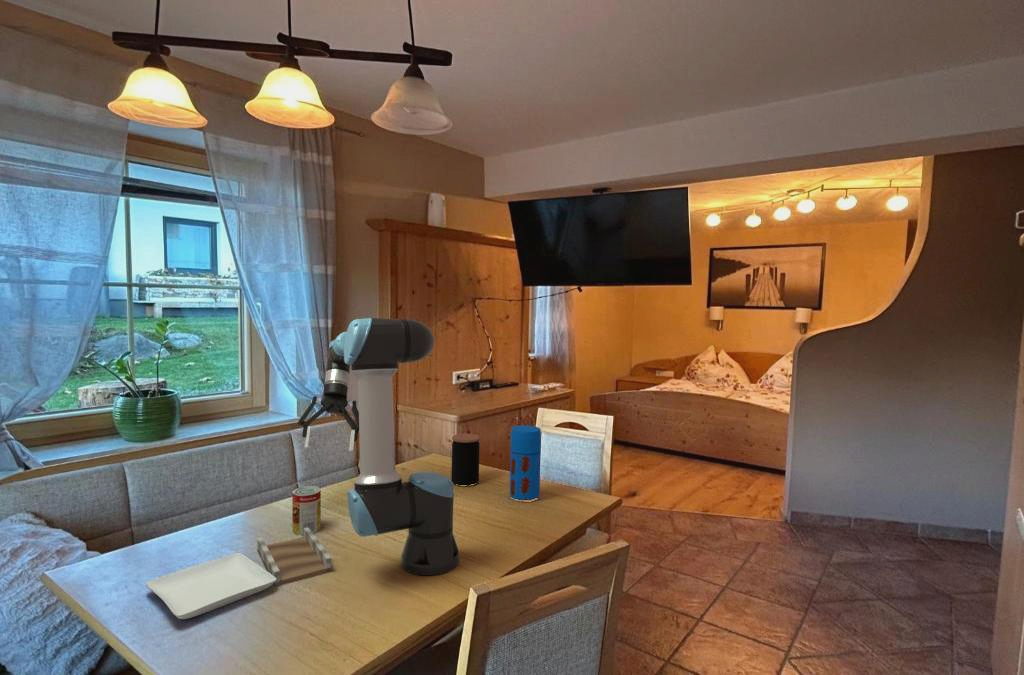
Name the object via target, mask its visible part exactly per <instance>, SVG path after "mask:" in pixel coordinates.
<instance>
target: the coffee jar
mask: <svg viewBox="0 0 1024 675" xmlns="http://www.w3.org/2000/svg"><path fill="white" fill-rule="evenodd" d="M480 438H481V437H480V436H479V435H478V434H473V433H458V434H457V433H456V434H454V435H452V437H451V440H452V443H451V476H450V477H451V478H450V479H451V480H452V482H453V483H454V484H458V485H471V484H475V483H477V484H478V483H479V481H480V442H479V441H480ZM454 484H453V485H454Z"/></svg>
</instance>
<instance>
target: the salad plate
mask: <svg viewBox="0 0 1024 675" xmlns="http://www.w3.org/2000/svg"><path fill="white" fill-rule="evenodd" d="M275 581H276V578H275V577H274V576H273V575H272V574H270V573H269V572H267V570H266V569H265V568H264V567H262V566H260V565H259V564H257V563H256V562H255V561H253V560H251V559H250V558H248V557H247V556H246V555H244V554H243V553H241V552H236V553H235V552H234V553H231V554H229V555H225V556H223V557H218V558H216V559H212V560H210V561H206V562H203V563H200V564H197V565H194V566H191V567H187V568H184V569H181V570H178V571H175V572H172V573H168V574H166V575H162V576H159V577H157V578H154V579H150V580H148V581H147V582H146V583H145V586H146V587H147V588H148V589H149V590H150V591H151V592H152V593H154V595H156V596H158V597H159V599H161V601H162V602H163V603H164V605H166V606H167V608H168V609H169V610H170V612H171V613H172V614H173V615H174V616H175V617H176V618H177V619H179V620H186V619H192V618H194V617H197V616H201V615H203V613H204V614H206V612H207V613H209V612H211V611H214V610H217V609H219V608H222V607H224V606H227V605H230V604H232V603H234V602H237V601H239V600H242V599H244V598H247V597H249V596H252V595H254V594H257V593H260V592H262V591H265V590H266V589H268V588H269V587H271V586H273V583H274V582H275Z"/></svg>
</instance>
